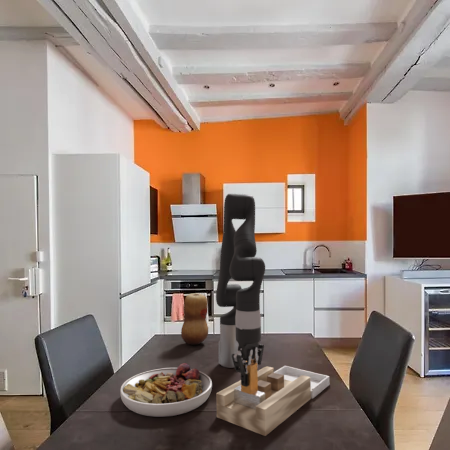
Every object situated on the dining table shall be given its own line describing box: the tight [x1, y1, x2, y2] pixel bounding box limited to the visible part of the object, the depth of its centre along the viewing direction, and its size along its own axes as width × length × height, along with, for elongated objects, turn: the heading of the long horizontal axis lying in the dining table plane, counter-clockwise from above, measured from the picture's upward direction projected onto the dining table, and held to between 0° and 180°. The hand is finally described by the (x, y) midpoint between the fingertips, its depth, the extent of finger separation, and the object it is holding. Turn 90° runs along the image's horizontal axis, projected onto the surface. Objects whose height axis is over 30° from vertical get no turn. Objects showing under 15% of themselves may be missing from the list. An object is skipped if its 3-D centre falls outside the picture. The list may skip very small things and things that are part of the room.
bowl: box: [120, 362, 213, 418], centre depth 121 cm, size 30×30×8 cm
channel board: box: [215, 366, 312, 437], centre depth 113 cm, size 17×28×7 cm, turn 142°
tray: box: [274, 365, 330, 399], centre depth 130 cm, size 18×14×3 cm
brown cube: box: [267, 371, 284, 392], centre depth 118 cm, size 4×4×4 cm
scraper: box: [234, 361, 265, 410], centre depth 107 cm, size 9×4×12 cm, turn 52°
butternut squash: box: [180, 292, 209, 345], centre depth 182 cm, size 14×13×25 cm
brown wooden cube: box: [257, 380, 271, 400], centre depth 112 cm, size 4×4×4 cm
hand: (248, 383), depth 107 cm, fingers closed on scraper, 3 cm apart
